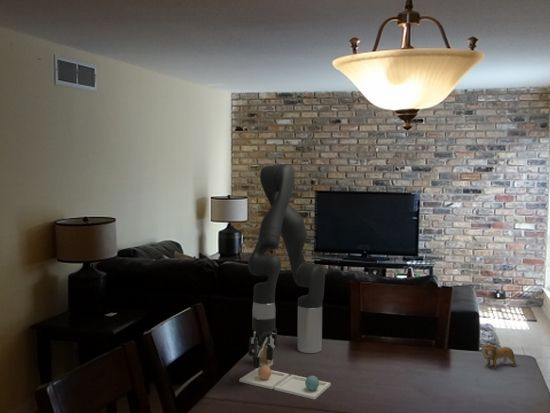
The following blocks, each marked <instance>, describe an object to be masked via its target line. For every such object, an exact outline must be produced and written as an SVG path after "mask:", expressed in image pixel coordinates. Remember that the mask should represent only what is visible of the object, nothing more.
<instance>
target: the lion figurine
mask: <svg viewBox="0 0 550 413" xmlns="http://www.w3.org/2000/svg"><path fill="white" fill-rule="evenodd" d="M481 347H482V348H481V353H482V356H483V357H484V359H485V360H486V361H487V364H485V367H490V365H491V361H492V366H491V369H492V370H493V369H494V370H496V368H497V360H499V359H502V358H503V361H500V363H499V365H504V364H505V363H506V362H507V359H508V360H509V361H511V362H512V364H511V367H513V366H515V367H516V359H515V354H514V351H513V349H512V348H510V347H508V346H503V347H500V348H497V347H495V346H494V345H493V344H491V343H487V342H486V343H484V344H483V345H482V346H481Z"/></svg>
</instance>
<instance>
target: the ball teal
mask: <svg viewBox="0 0 550 413" xmlns="http://www.w3.org/2000/svg"><path fill="white" fill-rule="evenodd" d="M306 378H307V379H306V381H305V385H306V387H307V388H308V389H309V390H316V389H317V388H318V386H319V381H320V380H319V378H318V377H317V376H315V375H309V376H308V377H306Z"/></svg>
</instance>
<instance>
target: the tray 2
mask: <svg viewBox="0 0 550 413" xmlns="http://www.w3.org/2000/svg"><path fill="white" fill-rule="evenodd" d="M307 378H308V377H304V376H300V375H296V374H290V375H289V377H288V378H286V379H285V380H284V381H282V382H281V383H280V384H278V385H277V386H275V387H274V388H273V390H274V391H277V392H280V393H286V394H289V395H294V396H297V397H303V398H306V399H311V400H316V399H317V398H319V397H320V396H321V395H322V394H323V393H324V392H325V391H326V390H328V389H329V388H330V387H331V385H332V384H331V382H329V381H328V382H327V381H323V380H319V386H318V388H317V389H316V390H309V389H308V388H307V387H306V385H305V381H306V379H307Z"/></svg>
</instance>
